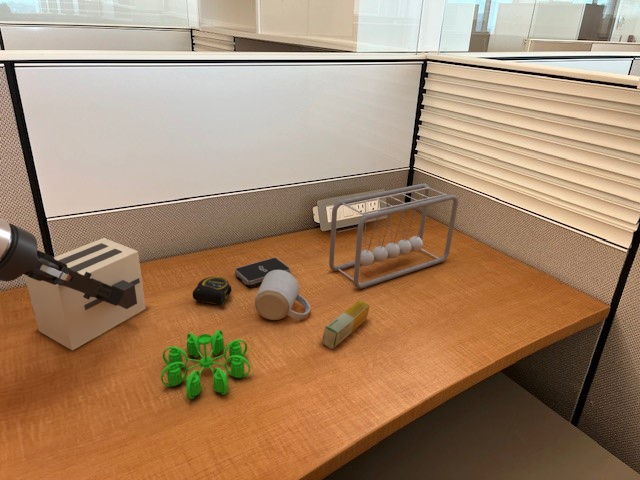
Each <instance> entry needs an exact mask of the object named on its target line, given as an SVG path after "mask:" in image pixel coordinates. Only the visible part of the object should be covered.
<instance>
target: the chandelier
mask: <svg viewBox="0 0 640 480" xmlns="http://www.w3.org/2000/svg"><path fill="white" fill-rule="evenodd" d="M241 343H244V350H243V347H242V344H241ZM209 344H210V349H211V351H210V353H209V355H208V351H207V345H209ZM201 346H203V354H204V355H202V353H201ZM167 351H168V359H167V358H166V352H167ZM227 351H228V357H227ZM247 351H248V345H247V343H246V342H245V340H244V339H240V338H236V339H233V340H232V341H230V342H229V343H227V345H225V341H224V333H223V330H222V329H217V330H216V331H215V332H214V333H213V334H212V335H211V334H209V333H203V334H200V335H198V336H196V335H195V334H194V333H193V332H189V333H187V335H186V351H185V350H184V349H182V348H181V347H179V346H175V345H174V346H173V345H172V346H168V347H166V348H165V349H164V351H163V352H162V360H163V362H164V364H166V366H165V367H164V368H163V370H162V371H161V374H160V381H161V382H162V384H163V385H164V386H165V387H170V388H171V387H176V386H179V385H180V384H182V383H183V381H184V380H185V379H186V381H185V387H186V389H185V392H186V393H185V394H186V397H187V398H188V399H189V400H190V399H191V400H193V399H194V398H195V397H196V396H198V395H199V394H200V393H201V391H202V383H201V374H202V372H203V370H204V369H208V368H209V369H210V370H211V372H212V374H213V375H212V376H213V378H212V381H213V382H212V385H213V390H214V391H215V392H217V393H220V394H221V395H226V394H228V392H229V388H228V387H229V382H228V376H227V373H228V375H230V376H231V377H233V378H238V379H241V378H245V377H247V376H248V375H249V373H250V372H251V364H250V362H249V360H248V359H247V358H246V357H245V355H246V354H247ZM186 352H187V353H186ZM221 352H223V354H221V355H219V354H220V353H221ZM188 355H189V356H192V357H194V358H198V357H201V359H200V360H199V359H194V358H193V359H192V358H191V359H190V358H189V357H188ZM212 355H215V356H216V357H214V358H211V356H212ZM218 355H219V356H218ZM183 357H184V359H185V363H184V362H183ZM223 357H224V359H225V362H224V363H221V362H216V361H215V360H218V359H220V358H223ZM188 361H190V362H197V363H198V364H195V365H193V366H190V367H187V364H188ZM214 361H215V362H214ZM227 363H230V369H229V367H228V364H227ZM245 363H246V365H247V367H248V371H247V372H246V373H245ZM213 365H217V366H218V365H220V366H224V368H225V371H226V372H225V371H224V370H222V368H220V367H219V366H218V367H214V368H212V366H213ZM196 367H200V370H197V369H195V368H196ZM183 368H185V372H184V374H183V373H182V369H183ZM191 369H194V370H192V371H191V372H190V374H189V375H188V373H189V370H191ZM165 373H166V375H167V382H165V381H164V375H165Z"/></svg>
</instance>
